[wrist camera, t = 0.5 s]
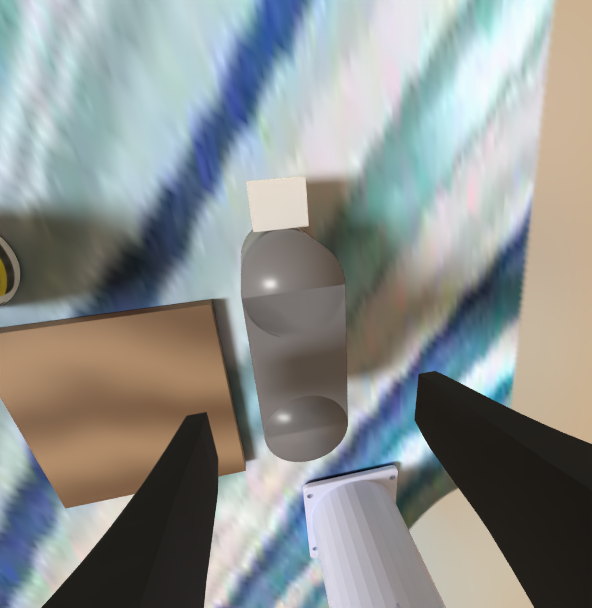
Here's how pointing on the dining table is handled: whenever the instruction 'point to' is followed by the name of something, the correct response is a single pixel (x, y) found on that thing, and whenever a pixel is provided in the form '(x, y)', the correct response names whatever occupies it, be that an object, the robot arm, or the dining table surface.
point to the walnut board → (116, 394)
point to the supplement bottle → (8, 272)
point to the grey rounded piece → (294, 324)
